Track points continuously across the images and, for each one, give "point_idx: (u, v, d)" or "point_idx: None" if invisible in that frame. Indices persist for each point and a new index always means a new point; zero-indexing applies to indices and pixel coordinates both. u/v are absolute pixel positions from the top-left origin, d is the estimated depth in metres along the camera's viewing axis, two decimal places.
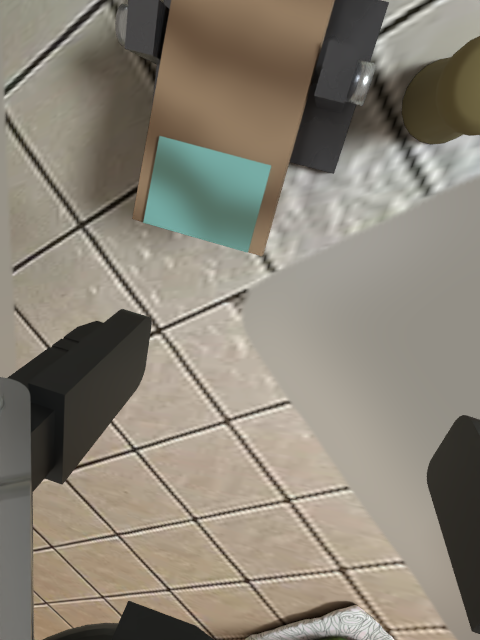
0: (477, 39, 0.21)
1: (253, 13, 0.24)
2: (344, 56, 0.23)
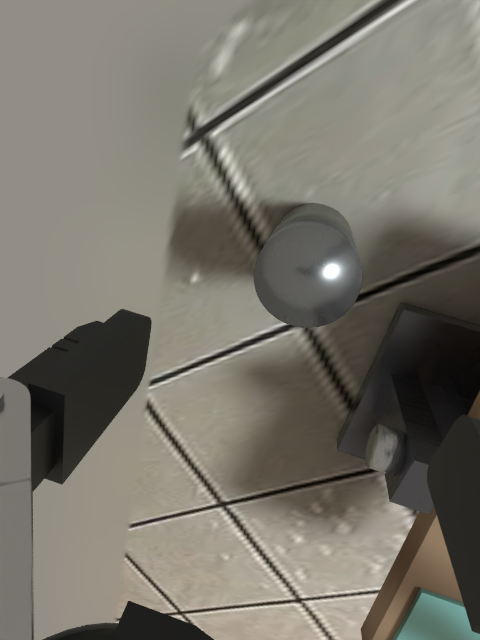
0: None
1: None
2: None
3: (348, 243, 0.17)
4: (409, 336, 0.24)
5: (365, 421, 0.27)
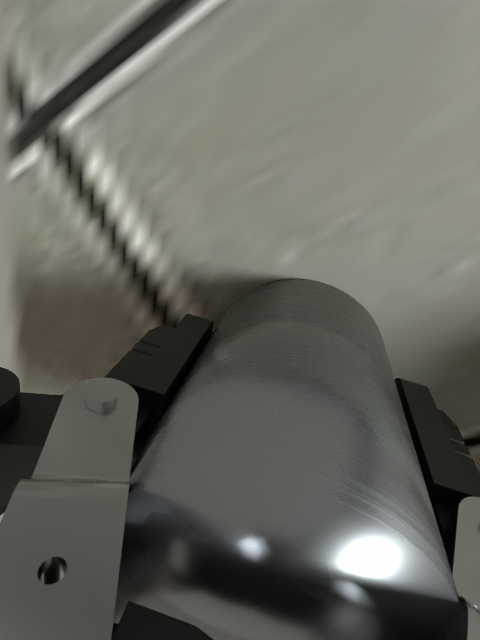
0: None
1: None
2: None
3: (420, 557, 0.04)
4: None
5: None
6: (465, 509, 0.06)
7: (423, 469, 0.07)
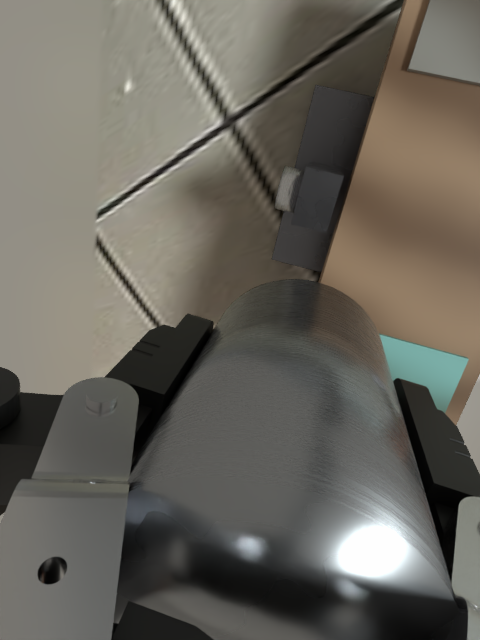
0: None
1: (460, 190, 0.20)
2: None
3: (416, 556, 0.04)
4: (323, 115, 0.26)
5: None
6: (466, 510, 0.06)
7: (423, 469, 0.07)
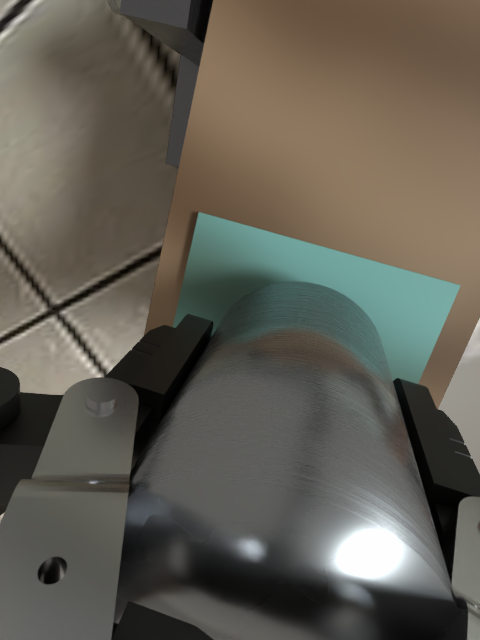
0: None
1: None
2: None
3: (417, 560, 0.04)
4: None
5: None
6: (465, 510, 0.06)
7: (423, 469, 0.07)
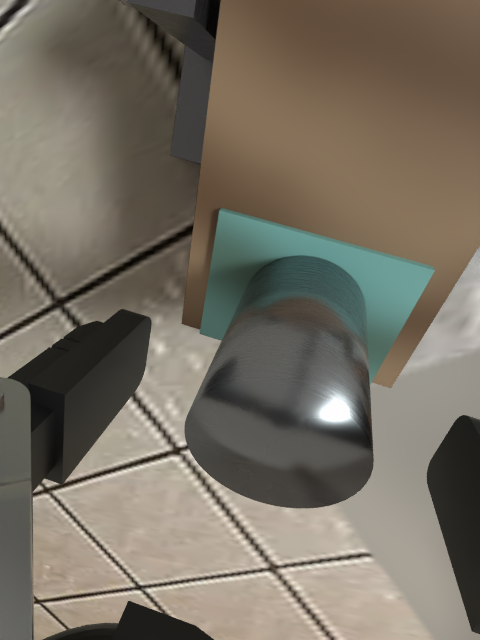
0: None
1: None
2: None
3: (348, 416, 0.09)
4: None
5: (197, 88, 0.18)
6: None
7: None
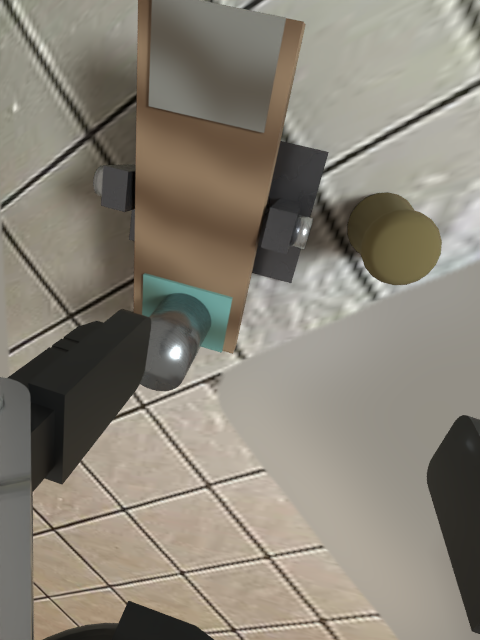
0: (387, 217, 0.25)
1: (204, 189, 0.28)
2: (283, 220, 0.28)
3: (170, 349, 0.28)
4: None
5: None
6: None
7: None
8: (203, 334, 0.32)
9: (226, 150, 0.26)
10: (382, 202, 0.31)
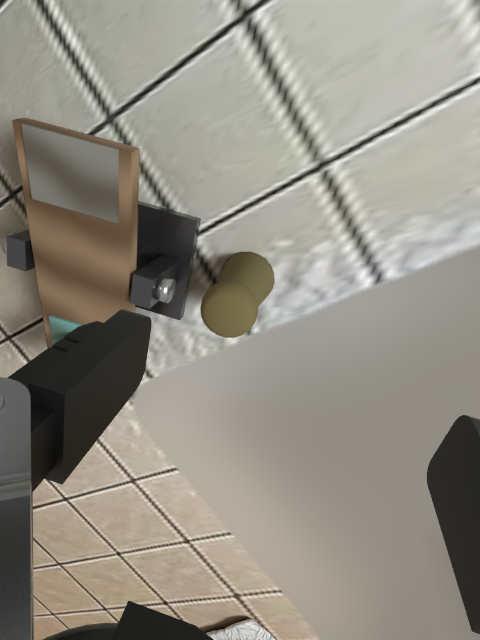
0: (213, 288, 0.33)
1: (83, 258, 0.36)
2: (143, 284, 0.36)
3: None
4: None
5: None
6: None
7: None
8: None
9: (94, 232, 0.34)
10: (235, 264, 0.39)
